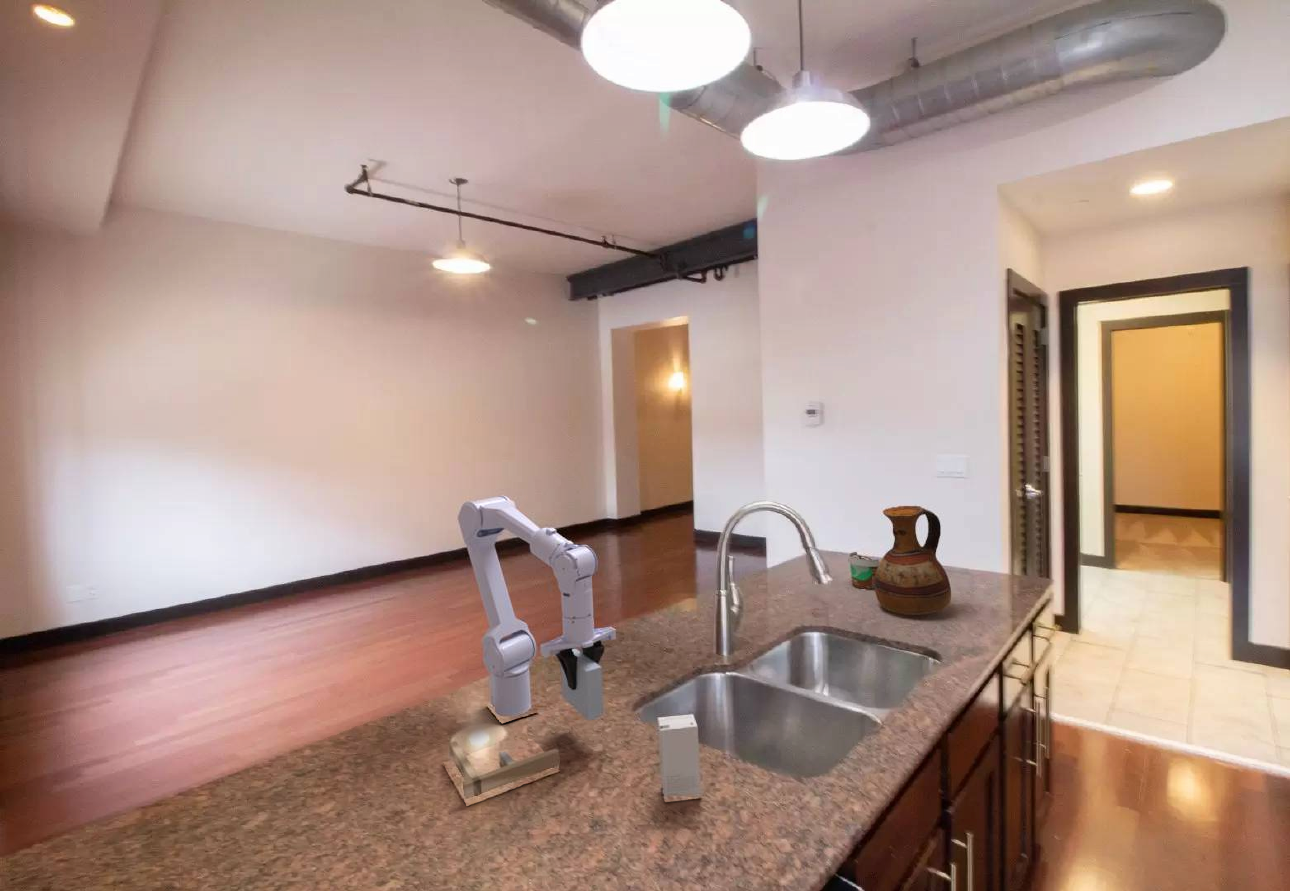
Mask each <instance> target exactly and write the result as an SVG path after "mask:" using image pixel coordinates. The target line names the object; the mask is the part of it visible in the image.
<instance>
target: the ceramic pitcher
mask: <svg viewBox="0 0 1290 891" xmlns="http://www.w3.org/2000/svg"><path fill="white" fill-rule="evenodd" d="M882 513H883V515H884V516H886V517H887V518H888V519H889V520H890V522H891V524H892V535H893V537H894V541H893V546H892V548H891V549H889V550H888V551H886V553H885V554H884V555H883V556H882V558H881V560H879V562H880V563H879V565H878V568H877V571H876V576H875V590H874V592H875V596H876V599H877V601H878V604H880V605H881V607H883V608H884V609H886V610H888V611H890V612H892V613H897V614H902V615H903V614H904V615H924V614H930V613H935V612H938V611H941V610H943V609H945V608H946V607H947V606H949V605H950V602H951V598H952V590H951V583H950V579H949V577H948V574H947V572H946V570H945V568H944V566H943V565H942V564H941V562H940V561H939V560H938V558H937V549H938V546H939V543H940V538H941V528H942V526H941V521H940V519H939V517H938V515H936V514H935V513H934V512H933V511H931V510H929V509H926V508H924V507H921V506H918V505H899V506H895V507H894V506H892V507H888V508H885V509H883V511H882ZM924 515H925V516H926V520H927V536H926V539H925V542H924V545H921V544H920V542H919V541H918V537H917V529H916V526H917V522H918V520H919V518H920V517H921V516H924Z"/></svg>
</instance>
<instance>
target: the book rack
mask: <svg viewBox="0 0 1290 891" xmlns="http://www.w3.org/2000/svg"><path fill="white" fill-rule="evenodd" d="M448 745H449V757H451V758H452V760H453V762H454V763H455V765H456V767H457V768H458V770H459V772H460V773H461V775H462V777H463V778H464V780H465V781H463V790H464V796H465V798H466V799H468V798H470V797H473V796H478V795H480V794H482V793H484V792H487V791H490V790H492V789H495V788H497V787H501V786H503V785H506V784H508V783H512V782H516V781H518V780H520V779H523V778H526V777H531V776H533V775H535V774H537V773H541V772H543V771H545V770H547V769H550V768H554V767H556V766H558V765H560V750H558V748H553V749H550V750H548V751H545V752H544V753H541V754H538V755H536V756H533V757H530V758H527V759H524V760H522V761H519V762H516V763H515V761H514V760H513V759H512V757H511V756H510V755H509V753H508V752H507V751H506V750H503V751H500V752H499V765H500V767H501V768H499V769H496V770H493V771H491V772H488V773H485V774H482V775H479V776H478V774H477V773H476V771H475V769H474V768H473V766H472V765H471V763H470V762H469V760H468V759H467V757H466V755H465V754H466V753H464V750H463V749H462V748H461V746H460V744H459V743H458V741H457V740H454V741H451V742H449V744H448ZM560 766H561V765H560Z"/></svg>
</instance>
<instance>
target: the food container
mask: <svg viewBox="0 0 1290 891" xmlns="http://www.w3.org/2000/svg"><path fill="white" fill-rule="evenodd" d="M847 563H848V564H850V565H849V566H850V578H851V585H852V587H853V588H854V587H855V589H858V590H861V589H866V590H865V591H875V576H876V571H877V568H878V565H879V563H880V559H872V558H870V557H868V556H863V555H859V554H858V552H857V551H853V552H851V553H849V555H848V558H847Z"/></svg>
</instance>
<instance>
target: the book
mask: <svg viewBox="0 0 1290 891" xmlns="http://www.w3.org/2000/svg"><path fill="white" fill-rule="evenodd" d="M572 651H573V652H574V655H575V656H577V657H578V659H577V666H576V681H577V686H576V690H572V689H571V688H569V687H568V682H567V679H566V675H565V673H564V670H563V668H562V665H561V664H560V672H561V693H562V694H561V696H562V698H563V699H564V700H565V701H566V702H567V703H568V704H569V705H570V706H572V707H573V709H575V710H576V711H577V712H578V713H579V714H580V715H582V716H583V718H585V719H586V720H587V721H588V722H590V721H593V720H596V719H600V718H601V717H604V716H605V715H604V693H603V692H604V691H603V673H602V672H603V670H602V668H603V667H602V666H601V665H599V664H597V663H595V662H594V661H592V660H591V659H589V658H588V657H587V656H585V655H584V654H583V652H581V651H580V650H578V648H575V649H572Z"/></svg>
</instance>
